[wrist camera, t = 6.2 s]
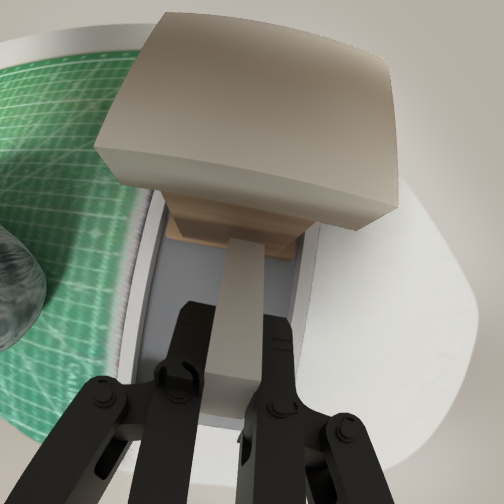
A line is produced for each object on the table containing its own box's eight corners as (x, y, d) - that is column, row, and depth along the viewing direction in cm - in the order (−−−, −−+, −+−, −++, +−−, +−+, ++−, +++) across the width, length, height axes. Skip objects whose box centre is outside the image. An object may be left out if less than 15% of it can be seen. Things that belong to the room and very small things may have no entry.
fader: (287, 273, 17) (417, 213, 5) (165, 250, 17) (73, 144, 5) (297, 201, 18) (403, 66, 6) (183, 178, 17) (148, 12, 6)
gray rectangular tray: (277, 411, 18) (291, 434, 14) (127, 384, 17) (107, 402, 13) (318, 136, 22) (336, 107, 18) (190, 110, 21) (186, 76, 17)
